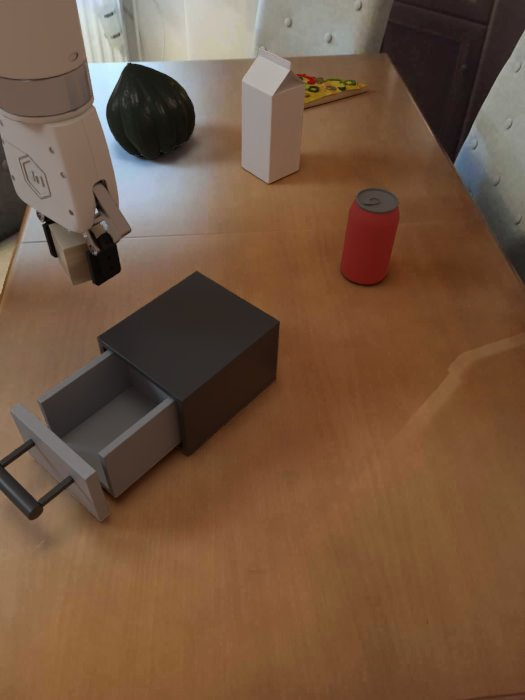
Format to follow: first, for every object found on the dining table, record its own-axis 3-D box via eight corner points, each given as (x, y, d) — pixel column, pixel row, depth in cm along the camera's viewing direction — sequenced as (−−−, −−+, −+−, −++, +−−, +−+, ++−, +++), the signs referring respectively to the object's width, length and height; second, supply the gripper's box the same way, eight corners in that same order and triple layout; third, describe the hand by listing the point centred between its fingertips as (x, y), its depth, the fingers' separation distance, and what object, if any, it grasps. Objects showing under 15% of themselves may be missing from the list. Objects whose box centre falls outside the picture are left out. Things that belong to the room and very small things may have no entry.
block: (72, 286, 59) (62, 249, 55) (58, 261, 61) (48, 224, 58) (116, 272, 60) (109, 235, 57) (101, 248, 63) (93, 211, 60)
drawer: (57, 560, 54) (36, 520, 49) (-13, 486, 59) (-40, 442, 54) (200, 435, 64) (196, 389, 59) (129, 380, 69) (120, 333, 63)
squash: (217, 130, 101) (181, 41, 98) (137, 157, 95) (96, 63, 92) (191, 154, 114) (158, 76, 111) (119, 179, 108) (83, 97, 105)
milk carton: (268, 185, 100) (273, 68, 86) (241, 167, 103) (241, 53, 90) (299, 171, 103) (308, 56, 89) (271, 154, 107) (276, 42, 93)
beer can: (331, 263, 86) (342, 190, 77) (371, 253, 88) (385, 181, 79) (354, 291, 82) (367, 218, 73) (395, 280, 84) (413, 207, 75)
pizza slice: (264, 81, 128) (264, 66, 126) (357, 76, 131) (359, 62, 128) (278, 114, 117) (279, 99, 115) (379, 108, 120) (381, 93, 118)
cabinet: (188, 457, 63) (182, 401, 56) (111, 395, 69) (96, 337, 62) (276, 379, 71) (280, 321, 64) (200, 328, 76) (196, 270, 69)
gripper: (-61, 68, 49) (4, 246, 62) (73, 137, 42) (114, 323, 55) (18, 42, 53) (63, 215, 66) (152, 101, 46) (173, 282, 59)
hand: (85, 262), depth 60 cm, fingers closed on block, 5 cm apart
